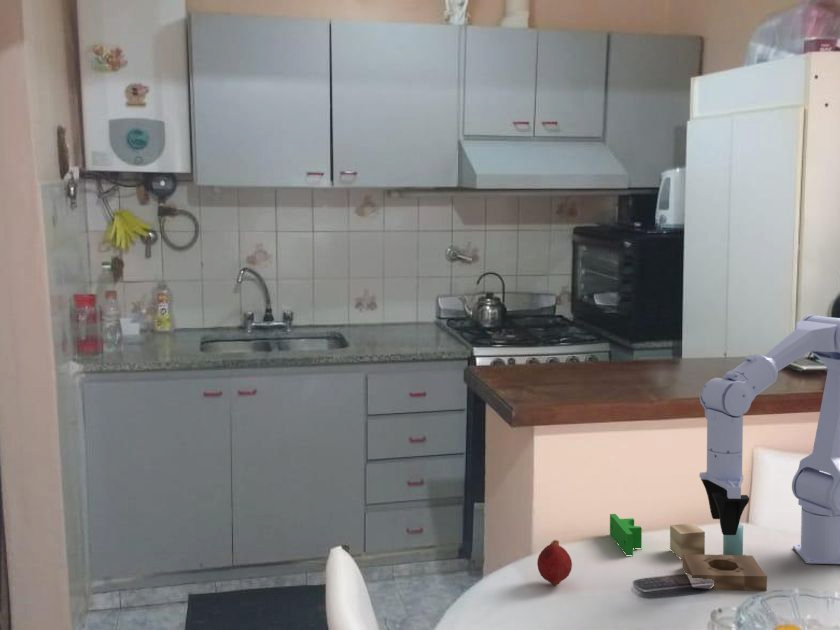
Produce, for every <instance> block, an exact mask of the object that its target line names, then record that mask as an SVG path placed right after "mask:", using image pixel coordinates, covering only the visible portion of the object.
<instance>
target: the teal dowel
mask: <svg viewBox="0 0 840 630" xmlns="http://www.w3.org/2000/svg"><path fill="white" fill-rule="evenodd" d="M722 535H723V534H722ZM722 537H723V538H722V540H723V541H722V545H723V546H722V555H743V554H744V525H743V524H741V523H739V526H738V529H737V533H736V535H723V536H722Z"/></svg>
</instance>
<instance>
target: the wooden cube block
mask: <svg viewBox="0 0 840 630" xmlns="http://www.w3.org/2000/svg"><path fill="white" fill-rule="evenodd" d="M669 527H670V528H669V538H670V539H669V550H670V549H671V550H672V551H673V552H674V553H675V554H676V555H677V556H678V557H680V558H681V559H683V554H698V555H706V553H705V551H706V549H705V546H706V545H705V544H706V541H705V539H706V532H705V531H704V530H703V529H701V528H700V527H699V526H698V525H696V524H695V523H694V522H692V523H681V524H680V523H679V524H670V526H669ZM674 553H673V554H674ZM675 554H674V555H675ZM676 555H675V556H676ZM677 556H676V557H677ZM678 557H677V558H678Z"/></svg>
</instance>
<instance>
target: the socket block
mask: <svg viewBox="0 0 840 630" xmlns="http://www.w3.org/2000/svg"><path fill="white" fill-rule="evenodd" d="M682 569H684V570H683V572H684V571H685V572H684V573H687V574H690V575H692V578H703V579H708V578H709V579H712V580H713V581H714V586H713V587H712V588H711V589H710V590H716V591H717V590H718V591H720V590H722V591H757V592H758V591H759V592H760V591H761V592H766V591H768V590H767V588H768V587H767V583H768V582H767V581H768V580H767V579H768V576H767V574H766V573H765V571H764V570H763V569H762V567H761V565H760V564H759V563H758V561H757V560H756V558H755V557H754V556H753V555H751V554H750V555H746V554H745V555H723V554H705V555H698V554H683V560H682Z"/></svg>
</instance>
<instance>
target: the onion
mask: <svg viewBox="0 0 840 630" xmlns="http://www.w3.org/2000/svg"><path fill="white" fill-rule="evenodd" d="M559 543H560V541H559V540H558V539H553V540H552V541H551V542H550V543H549V545H546V546H545V547H544V548H543V550H541V552H540V553H539V554H538V557H537V563H536V564H537V565H536V566H537V569H538V572H539V574H540V576H541V577H542V578H543V579H544V580H545V581H547V582H548V583H549V584H552V585H554V586H558V585H559V584H560V583H562V581H564V580H566V579H567V578H568V577H569V576H570V573H572V572H571V571H572V568H573V562H572V559H571V556H570V554H569V553H568V551H567V550H566V549H565V548H564V547H562V546H561V545H559Z"/></svg>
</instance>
